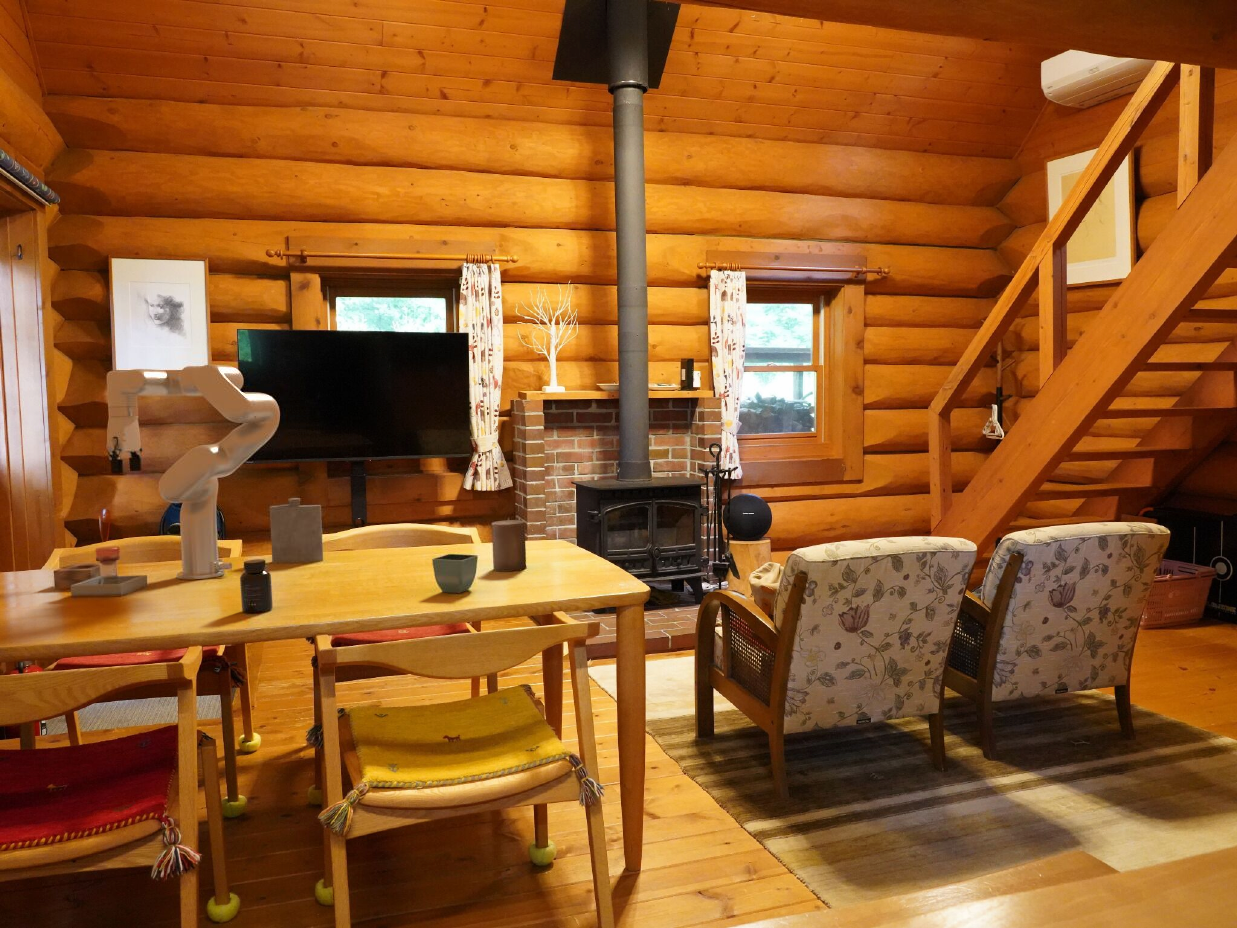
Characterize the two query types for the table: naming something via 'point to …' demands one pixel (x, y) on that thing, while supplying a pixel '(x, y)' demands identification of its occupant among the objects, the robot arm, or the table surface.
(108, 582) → the pin
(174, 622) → the table surface
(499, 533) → the pillar candle
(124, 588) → the tray
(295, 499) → the hip flask
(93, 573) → the block
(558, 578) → the table surface
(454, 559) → the flower pot
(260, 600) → the supplement bottle
